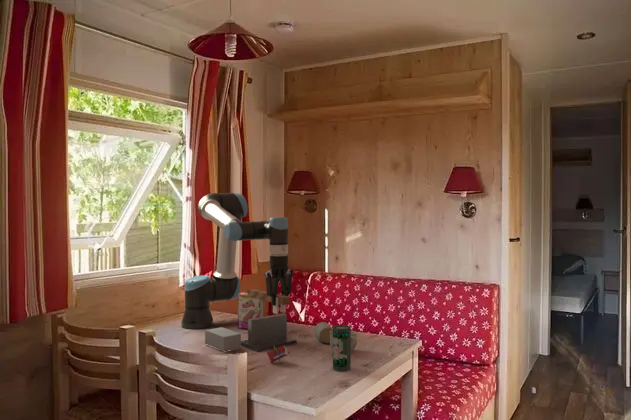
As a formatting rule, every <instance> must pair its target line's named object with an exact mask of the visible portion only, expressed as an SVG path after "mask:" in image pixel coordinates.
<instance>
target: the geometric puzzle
mask: <svg viewBox="0 0 631 420" xmlns="http://www.w3.org/2000/svg"><path fill="white" fill-rule="evenodd" d="M273 346H274V349H270V350H268V351H267V352H266V354H267V357H268V358H269V361H270V364H274V363H275V362H278V363H276V364H278V365H279V363H280V365H283V363H284V362H283V361H284V359H285V358H286V357H287V356H288V355H289V354H288V353H289V352H288V349H287V347H286V346H284V345H282V346H281V347H279V348H278V347H277V348H276V347H275V345H273ZM273 346H272V347H273ZM281 360H282V361H281Z"/></svg>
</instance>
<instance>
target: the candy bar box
mask: <svg viewBox="0 0 631 420" xmlns="http://www.w3.org/2000/svg"><path fill="white" fill-rule="evenodd" d="M260 317H264V300H260V299H256V298H252V297H248V292H239V294H238V296H237V329H241V330H242V329H243V330H248V319H254V318H260Z"/></svg>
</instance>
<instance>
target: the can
mask: <svg viewBox="0 0 631 420" xmlns="http://www.w3.org/2000/svg"><path fill="white" fill-rule="evenodd" d="M332 329H333V349H332V369H333V371H336V372H348V371H350V370H351V368H352V367H351V365H352V364H351V362H352V361H351V359H352V358H351V353H352V352H351V331H352V330H351V329H352V328H351V326H350V325H347V324H345V325H344V324H336V325H334V326H332Z"/></svg>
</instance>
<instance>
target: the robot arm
mask: <svg viewBox="0 0 631 420" xmlns="http://www.w3.org/2000/svg"><path fill="white" fill-rule="evenodd" d="M197 205H198V206H197V210H198V213H199V214H200V216H201V217H203V218H204V219H205V220H207V221H211V222H212V223H213V224H215V225H217V227H219V235H218V236H219V237H218V246H217V247H218V248H217V259H216V260H217V262H216V270H215V271H213V273H212V277H211V278H210V276H209V275H196V276H193V277H189V278H187V279H186V280H185V282H184V312H183V315H182V319H181V321H180V323H181V324H180V325H181V326H180V327H182V328H183V329H191V330H192V329H194V330H195V329H206V328H210V327H213V325H214V317H213V315H212V311H211V309H210V305H211V304H210V303H215V302H216V303H217V302H224V301H225V302H226V301H227V302H228V301H231V300H235V299H237V298H238V294H240V293H241V281H240V280H241V279H240V277H239V276H237V273H236V272H235V265H236V264H235V263H236V255H237V254H236V253H237V242H238V241H251V240H252V241H253V240H254V241H255V240H269V255H270V256H269V265H270V267H269V270H268V271H265V272H264V273H263V275H264V277H265V287H266V292H267V296H270V297H271V302H270V303H271V306H272V313H273V314H274V315H277V314H279V311H280V313H282V314H286V312H287V311H286V310H287V309H286V306H287V305H281V304H278V297H277V294H278V288H279V287H278V286H279V284H280V291H281V292H280V293H281V295H284V296H289V295H291V294H292V293H291V292H292V283H293V274H294V270H293V269H290V268H289V266H288V265H289V255H288V254H289V222H288V221H289V220H288V218H287V217H286V216H272V217H270V218H269V221H268V220H261V221H260V220H259V221H242V220H243V218H245V217H246V216H247V215H248V203H247V200H246V197H245V196H244V195H243V194H241V193H236V192H211V193H208V194H207V193H206V195H203V197H202V198H201V199H200V200H199V202H198V204H197ZM289 297H290V296H289ZM279 306H280V307H279ZM279 309H280V310H279Z"/></svg>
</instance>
